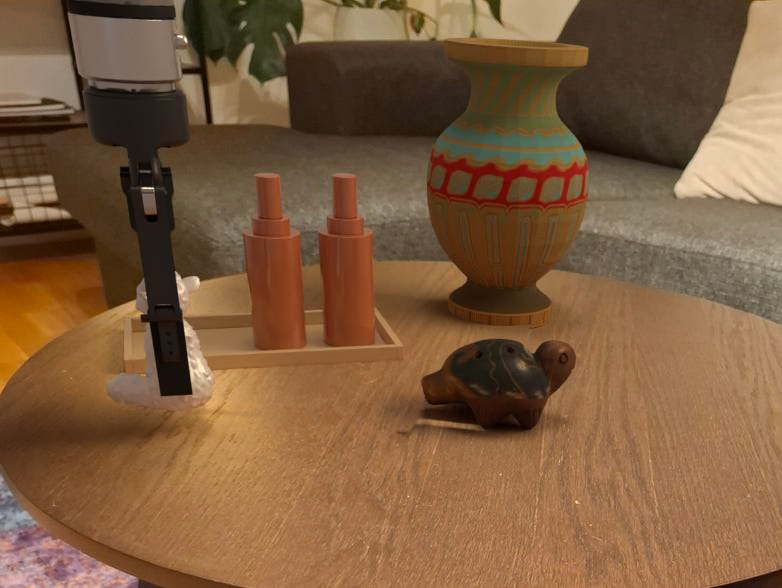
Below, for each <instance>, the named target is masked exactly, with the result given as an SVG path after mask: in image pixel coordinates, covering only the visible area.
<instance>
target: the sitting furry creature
mask: <svg viewBox="0 0 782 588" xmlns="http://www.w3.org/2000/svg"><path fill="white" fill-rule="evenodd" d="M175 274H176V281H177V289H178V296H179V304H180V308H181V309H182V312H183V317H184V316H185V315H187V313H188V309H189V308H190V296H191V295H193V294H195V293H196V294H197V292H198V291H199V289H200V285H201V284H200V278H199V276H197V275H191V276H187V277H184V278H183V279H181V275H180V274H179V273H178V272H177V270H176V271H175ZM161 305H170V304H161ZM134 309H136V310H137V311H139V313H142V314H147V310H148V302H147V295H146V289H145V282H144V277H143V278H142V280H141V281H140V283H139V284H138V285H137V286H136V299H135V305H134ZM183 323H184V331H185V338H186V346H187V354H188V361H189V369H190V377H191V384H192V392H193V395H180V396H161V395H160V389H159V382H158V376H157V369H156V362H155V356H154V349H153V343H152V336H151V330H150V323H147V324H146V326H145V327H146V335H145V336H144V339H145V342H146V343H145V344H144V350H145V353H146V355H145V356H146V357H145V359H146V361H147V365H146V366H145V371H146V374H145V375H142V374H137V373H133V374H127V373H126V372H121V373H119V374H118V375H116V376H112V377H111V378H110V379H108V380H107V381H106V384H105V389H106V395H107V397H109V399H111V400H112V401H114V402H115V403H118V404H121V406H124V405H129V406H132V407H133V406H134V407H143V408H149V409H156V410H165V411H171V412H176V413H177V412H179V413H181V412H189V411H193V410H196V409H199V408H202V407H204V406H206V405H207V403H208V402H209V401H210V400H211V399H212V398H213V396H214V392H215V390H214V386H215V384H216V382H215V381H214V377H215V376H214V373H213V372H212V370H211V369H210V368H209V367H208V366H207V360H206V359H204V358H203V356H202V352H201V351H200V345H199V344H200V341H199V340H198V337H197V336H196V332H195V331H194V330H193V329H192V327H191V326H190V325H189V324H188V323H187V321H185V320H184V318H183Z"/></svg>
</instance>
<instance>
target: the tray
mask: <svg viewBox="0 0 782 588" xmlns="http://www.w3.org/2000/svg"><path fill="white" fill-rule="evenodd" d="M183 318H184V320H185V321H187V323H188V324H189V325H190V326H191V327H192V329H193V330H194V331H195V332H196V336H197V337H198V340H199V341H200V344H199V345H200V351H201V352H202V356H203V358H204V359H206V360H207V366H208V367H209V368H210V369H211V371H221V370H238V369H255V368H256V369H257V368H275V367H276V368H277V367H278V368H279V367H296V366H297V367H298V366H312V365H315V366H316V365H332V364H351V363H352V364H353V363H368V362H387V361H388V362H389V361H404V355H405V354H404V351H405V350H404V345H403V343H402V342H401V341H400V339H399V338H398V336H397V335H396V333H395V331H394V330H393V329H392V328H391V326H390V325H389V324H388V322H387V321H386V319H385V318H384V316H383V315H382V313H381V312H380V311H379V310H378V308H377V307H375V342H374V343H373V344H372V345H370V346H350V347H333V346H330V345H328V344H326V343H325V342H324V337H323V318H322V309H308V310H306V309H305V320H306V336H307V345H306V346H305V347H304V348H302V349H288V350H268V351H264V350H261V349H258V348H257V347H255V346H254V341H253V331H252V320H251V312H228V313H227V312H226V313H202V314H186V315H185V316H184V317H183ZM146 324H147V323H141V318H140V316H124V317H123V356H122V357H123V358H122V359H123V367H124V373H127V374H133V373H137V374H139V375H144V374H145V375H146V371H145V366H146V365H147V361H146V359H145V357H146V356H145V355H146V353H145V350H144V344H145V343H146V342H145V339H144V336H145V335H146V327H145V326H146Z"/></svg>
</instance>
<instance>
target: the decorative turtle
mask: <svg viewBox="0 0 782 588" xmlns="http://www.w3.org/2000/svg"><path fill="white" fill-rule="evenodd" d="M576 362H577V355H576V352H575V350H574V348H573V346H572V345H571V344H570V343H567V342H565V341H562V340H558V339H557V340H555V339H552V340H551V339H550V340H546V341H543V342H541V343H540V345H539V346H538V347H537V348H536V350H535V352H531V351H530V350H529V348H528V347H526V345H524V344H523V343H521V342H520V341H517V340H514V339H508V338H486V339H480V340H477V341H474V342H472V343H469V344H465V345H462V346H461V347H458V348H457V349H455V350H454V351H453V352H452V353H451V354H449V355H448V356H447V358H446V359H445V360H444V362H443V363H442V366H441V368H440V369H439V370H436V371H435V372H432V373H429V374H427V375H425V376H422V378H421V381H420V383H421V388H422V392H423V397H424V399H425V401H426V402H427V404H428V405H431V406H443V405H444V406H445V405H453V404H454V405H455V404H466V405H468V407H470V409H471V411H472V412H473V415H474V418H475V420H476V423H478V424H479V426H480V427H481V428H483V429H490V428H493V427H494V426H495V425H497V424H498V423H499V422H501V420H503V419H504V418H505V417H507V416H509V415H512V416H513V418H515V420H516V421H517V423H519V425H520V426H522V427H523V428H524V429H526V430H530V429H531V430H532V429H533V428H534V427H536V426H537V425H538V424H539V422H540V419H541V417H542V414H543V412H544V409H545V407H546V405H547V403H548V400H549V398H550V397H551V396H552V395H553V394H554V393H556V392H557V391H558V390H559V389H560V388H562V386H563V385H564V384H565V382H567V380H568V378H569V377H570V376H571V374H572V372H573V370H574V369H575V367H576Z"/></svg>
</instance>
